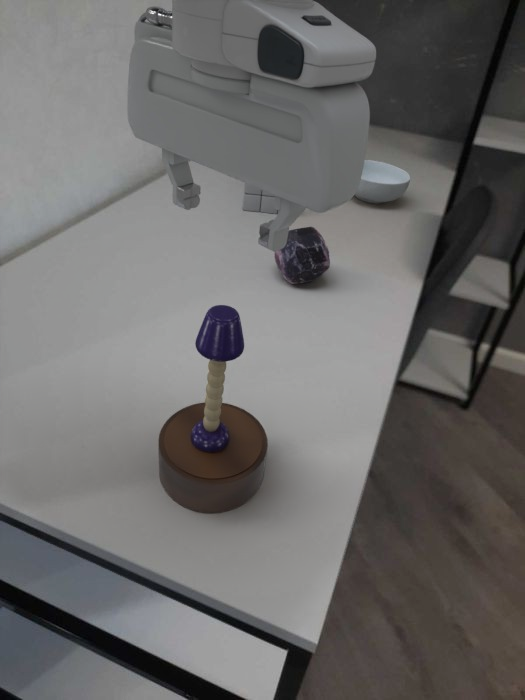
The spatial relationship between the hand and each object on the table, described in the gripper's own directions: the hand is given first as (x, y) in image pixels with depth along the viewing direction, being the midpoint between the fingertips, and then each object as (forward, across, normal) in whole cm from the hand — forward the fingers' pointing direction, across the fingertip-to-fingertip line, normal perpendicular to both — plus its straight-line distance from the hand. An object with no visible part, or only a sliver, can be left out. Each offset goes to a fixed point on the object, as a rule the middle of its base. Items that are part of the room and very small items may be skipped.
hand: (226, 225), depth 42 cm
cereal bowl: (+30, -32, +92) cm, 102 cm away
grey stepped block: (+30, -46, +67) cm, 87 cm away
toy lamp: (+25, 0, 0) cm, 25 cm away
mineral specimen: (+30, -20, +44) cm, 57 cm away
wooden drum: (+30, 0, 0) cm, 30 cm away
